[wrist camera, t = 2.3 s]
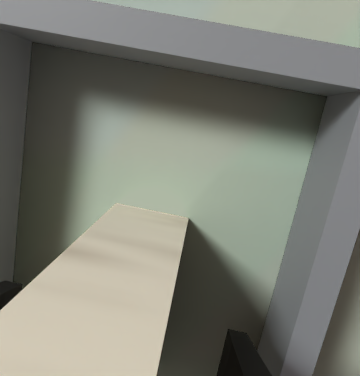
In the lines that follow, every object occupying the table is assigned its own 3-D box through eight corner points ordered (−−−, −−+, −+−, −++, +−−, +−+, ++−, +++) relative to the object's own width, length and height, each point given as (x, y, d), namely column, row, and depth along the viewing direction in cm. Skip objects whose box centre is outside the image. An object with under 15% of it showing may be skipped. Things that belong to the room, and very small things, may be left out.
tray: (237, 501, 16) (243, 586, 13) (-187, 398, 17) (-269, 457, 14) (363, 72, 12) (414, 58, 9) (-219, -33, 13) (-348, -78, 10)
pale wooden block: (159, 364, 15) (88, 716, 6) (94, 349, 15) (-66, 673, 6) (188, 217, 13) (149, 409, 5) (116, 202, 14) (-56, 362, 5)
